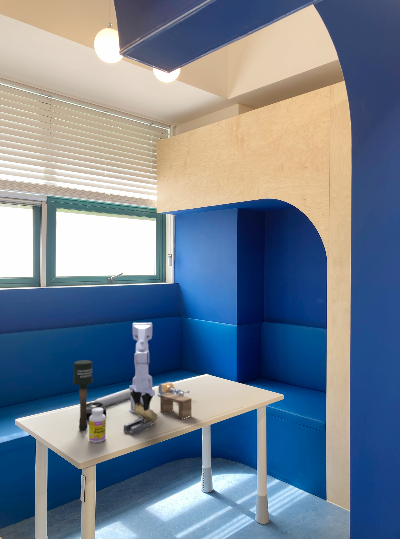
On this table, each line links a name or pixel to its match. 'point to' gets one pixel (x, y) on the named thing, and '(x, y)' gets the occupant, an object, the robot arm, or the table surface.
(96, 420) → the supplement bottle
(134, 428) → the v block
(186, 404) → the wooden bridge block
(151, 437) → the table surface
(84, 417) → the stick grenade
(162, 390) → the vise
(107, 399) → the tube
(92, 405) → the cpu cooler
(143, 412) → the brass cylinder
